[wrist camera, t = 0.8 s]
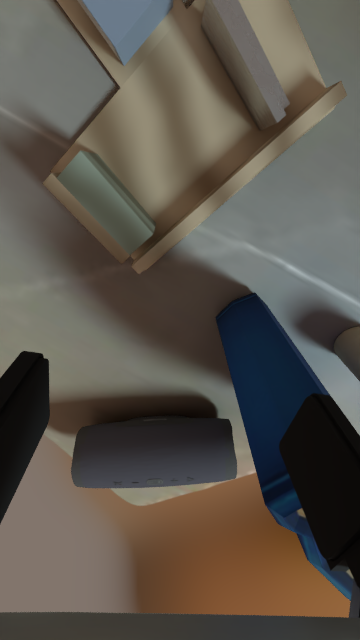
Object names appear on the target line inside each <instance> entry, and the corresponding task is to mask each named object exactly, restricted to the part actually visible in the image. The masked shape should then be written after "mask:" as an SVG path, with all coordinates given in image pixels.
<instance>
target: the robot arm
mask: <svg viewBox="0 0 360 640" xmlns="http://www.w3.org/2000/svg"><path fill="white" fill-rule="evenodd" d="M49 416H50V409H49V361H48V359H45V358H44V357H43V354H41V353H35V352H28V351H23V352H21V353H20V354H19V356H18V357H17V358H16V359H15V361H14V362H13V363H12V364H11V366H10V367H9V368H8V369H7V370H6V372H5V373H4V374H3V375H2V377H1V378H0V523H1V521H2V519H3V517H4V515H5V513H6V511H7V509H8V506H9V504H10V502H11V500H12V498H13V496H14V494H15V492H16V490H17V488H18V485H19V483H20V481H21V479H22V477H23V475H24V473H25V471H26V468H27V467H28V464H29V462H30V460H31V458H32V456H33V454H34V452H35V450H36V448H37V446H38V443H39V441H40V439H41V437H42V435H43V433H44V431H45V429H46V427H47V424H48V421H49ZM279 451H280V454H281V456H282V459H283V461H284V464H285V466H286V469H287V471H288V474H289V476H290V479H291V481H292V484H293V486H294V489H295V491H296V494H297V496H298V499H299V501H300V504H301V506H302V509H303V511H304V514H305V517H306V519H307V522H308V524H309V527H310V529H311V532H312V534H313V537H314V539H315V542H316V544H317V547H318V549H319V551H320V554H321V555H322V556H323V557H324V558H325V559H326V561H327V563H328V566H329V568H330V571H343V572H346V571H348V570H349V569H350V571H351V574H352V576H353V585H352V594H351V603H350V612H349V618H343V617H342V618H341V617H305V616H261V615H260V616H259V615H212V614H159V613H158V614H157V613H156V614H155V613H154V614H153V613H91V612H90V613H89V612H20V613H19V612H18V613H17V612H13V613H12V612H5V613H4V612H3V613H0V640H360V436H359V434H358V433H357V432H356V430H355V429H354V427H353V426H352V425H351V423H350V422H349V420H348V419H347V418H346V416H345V415H344V414H343V412H342V411H341V409H340V408H339V407H338V405H337V404H336V402H335V401H334V400H333V398H332V397H331V396H329V395H324V394H317V393H312V394H311V395H310V396H308V397H306V399H305V400H304V402H303V404H302V405H301V407H300V409H299V410H298V412H297V414H296V415H295V417H294V419H293V420H292V422H291V424H290V425H289V427H288V429H287V430H286V432H285V434H284V435H283V437H282V439H281V441H280V443H279Z"/></svg>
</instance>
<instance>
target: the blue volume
mask: <svg viewBox="0 0 360 640" xmlns="http://www.w3.org/2000/svg"><path fill="white" fill-rule="evenodd" d="M215 318H216V321H217V325H218V329H219V333H220V337H221V340H222V344H223V348H224V352H225V355H226V359H227V363H228V367H229V370H230V374H231V378H232V382H233V385H234V389H235V393H236V397H237V401H238V404H239V408H240V412H241V416H242V419H243V423H244V427H245V431H246V434H247V438H248V442H249V446H250V449H251V453H252V457H253V461H254V465H255V468H256V472H257V476H258V479H259V483H260V487H261V491H262V495H263V498H264V502H265V505H266V506H267V508H268V510H269V511H270V512H271V514H272V516H273V517H274V519H275V520H276V522H277V523H278V524H279V525H281V526H283V527H285V528H287V529H289V530H291V531H293V532H295V533H297V536H298V538H299V540H300V543H301V545H302V548H303V550H304V553H305V555H306V557H307V560H308V561H309V562H310V563H311V564H312V565H313V566H314V567H315V568H316V569H318V571H320V572H321V573H322V574H323V575H324V576H325V577H326V578H327V579H328V580H329V581H330V582H331V583H332V584H333V585H334V586H335V587H336V588H337V589H338V590H339V591H340V592H341V593H342V594H343V595H344V596H345V597H346V598H348V599H349V600H350V601H351V594H352V585H353V576H352V574H351V571H350V569H349V570H348V571H346V572H343V571H330V568H329V566H328V563H327V561H326V559H325V558H324V557H323V556H322V555H321V554H320V551H319V549H318V547H317V544H316V542H315V539H314V537H313V534H312V532H311V529H310V527H309V524H308V522H307V519H306V517H305V514H304V511H303V509H302V506H301V504H300V501H299V499H298V496H297V494H296V491H295V489H294V486H293V484H292V481H291V479H290V476H289V474H288V471H287V469H286V466H285V464H284V461H283V459H282V456H281V454H280V451H279V443H280V441H281V439H282V437H283V435H284V434H285V432H286V430H287V429H288V427H289V425H290V424H291V422H292V420H293V419H294V417H295V415H296V414H297V412H298V410H299V409H300V407H301V405H302V404H303V402H304V400H305V399H306V397H308V396H310V395H311V394H312V393H317V394H324V395H329V393H328V392H327V390H326V389H325V387H324V386H323V385H322V383H321V382H320V380H319V379H318V377H317V376H316V375H315V373H314V372H313V370H312V369H311V367H310V366H309V365H308V363H307V362H306V360H305V359H304V357H303V356H302V355H301V353H300V352H299V350H298V349H297V347H296V346H295V345H294V343H293V342H292V340H291V339H290V337H289V336H288V335H287V333H286V332H285V330H284V329H283V328H282V326H281V325H280V323H279V322H278V321H277V319H276V318H275V316H274V315H273V313H272V312H271V311H270V309H269V308H268V306H267V305H266V304H265V303H264V302H263V301H262V300H261V299H260V297H259V296H258V295H257V294H256V293H252V294H249V295H247V296H244V297H242V298H239V299H237V300H234V301H232V302H231V303H230V304H229V305H228V306H227V307H226V308H225V309H223V310H222V311H221V312H220V313H219V314H218V315H217V316H216V317H215ZM329 396H330V395H329Z"/></svg>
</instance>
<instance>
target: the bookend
mask: <svg viewBox="0 0 360 640" xmlns="http://www.w3.org/2000/svg"><path fill="white" fill-rule="evenodd" d="M201 29H202V31H203V32H204V34H205V36H206V38H207V39H208V41H209V43H210V45H211V47H212V48H213V50H214V52H215V54H216V55H217V57H218V59H219V61H220V62H221V64H222V66H223V68H224V69H225V71H226V73H227V75H228V77H229V78H230V80H231V82H232V84H233V85H234V87H235V89H236V91H237V92H238V94H239V96H240V98H241V100H242V101H243V103H244V105H245V107H246V108H247V110H248V112H249V114H250V115H251V117H252V119H253V121H254V122H255V124H256V126H257V128H258V130H259V131H260V130H262V129H265V128H267V127H269V126H272V125H274V124H276V123H278V122H279V121H280V120H281V119H282V118H283V117H285V116H286V113H285V111H284V109H285V108H286V107H287V106H288V105H289V104H290V103H289V101H288V99H287V97H286V95H285V93H284V91H283V89H282V87H281V85H280V83H279V81H278V79H277V77H276V75H275V73H274V70H273V68H272V66H271V64H270V62H269V60H268V58H267V56H266V54H265V52H264V50H263V48H262V46H261V44H260V42H259V40H258V38H257V36H256V34H255V32H254V30H253V28H252V26H251V24H250V22H249V20H248V18H247V16H246V14H245V12H244V10H243V8H242V6H241V4H240V2H239V0H206V2H205V7H204V12H203V17H202V22H201Z"/></svg>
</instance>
